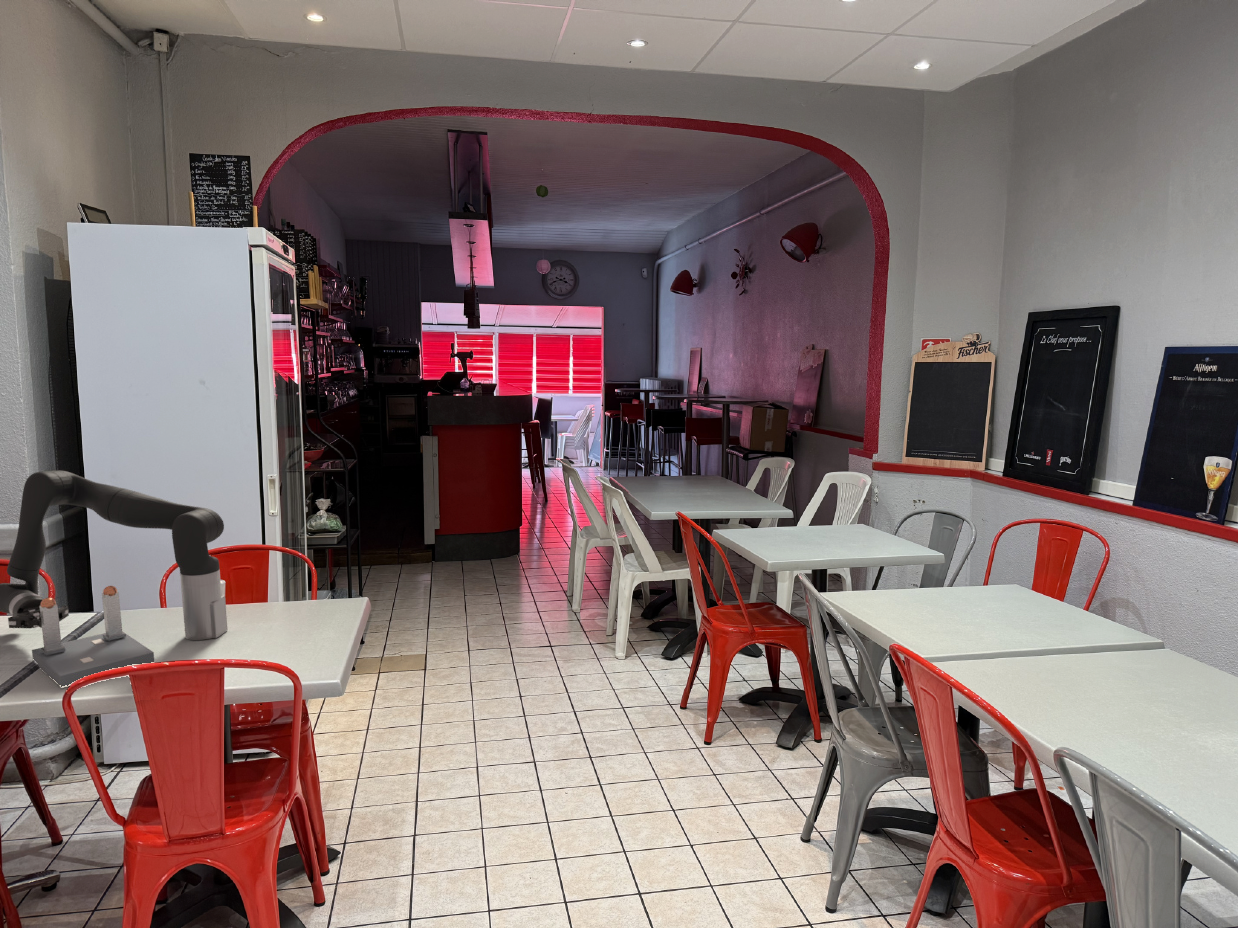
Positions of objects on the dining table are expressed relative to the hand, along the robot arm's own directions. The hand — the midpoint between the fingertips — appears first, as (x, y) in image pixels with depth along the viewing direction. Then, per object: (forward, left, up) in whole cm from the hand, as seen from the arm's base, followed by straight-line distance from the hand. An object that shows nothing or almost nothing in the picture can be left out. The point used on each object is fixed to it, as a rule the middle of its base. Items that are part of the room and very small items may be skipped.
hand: (48, 624), depth 195 cm
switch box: (-10, +1, -10) cm, 14 cm away
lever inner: (-10, -8, -6) cm, 14 cm away
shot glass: (-17, -44, -10) cm, 48 cm away
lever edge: (-1, +1, -6) cm, 6 cm away
